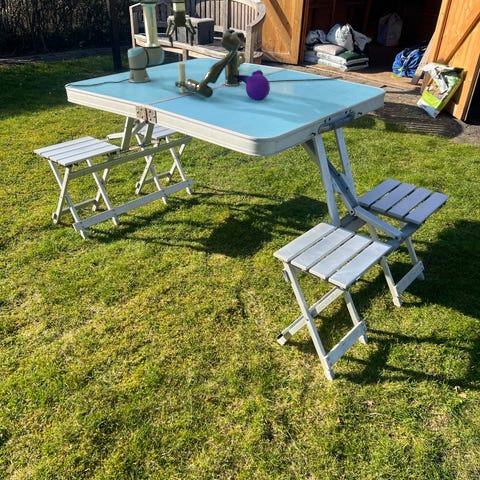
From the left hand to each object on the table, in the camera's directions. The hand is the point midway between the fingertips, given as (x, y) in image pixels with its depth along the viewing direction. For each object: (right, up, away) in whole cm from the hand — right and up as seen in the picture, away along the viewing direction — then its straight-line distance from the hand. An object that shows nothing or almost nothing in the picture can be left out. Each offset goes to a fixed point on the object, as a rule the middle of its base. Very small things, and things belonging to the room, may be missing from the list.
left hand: (182, 46), depth 296 cm
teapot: (+33, +13, +76) cm, 84 cm away
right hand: (-1, -21, +6) cm, 22 cm away
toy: (+47, -38, -12) cm, 61 cm away
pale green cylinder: (0, -27, +8) cm, 28 cm away
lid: (-1, -12, -1) cm, 12 cm away
